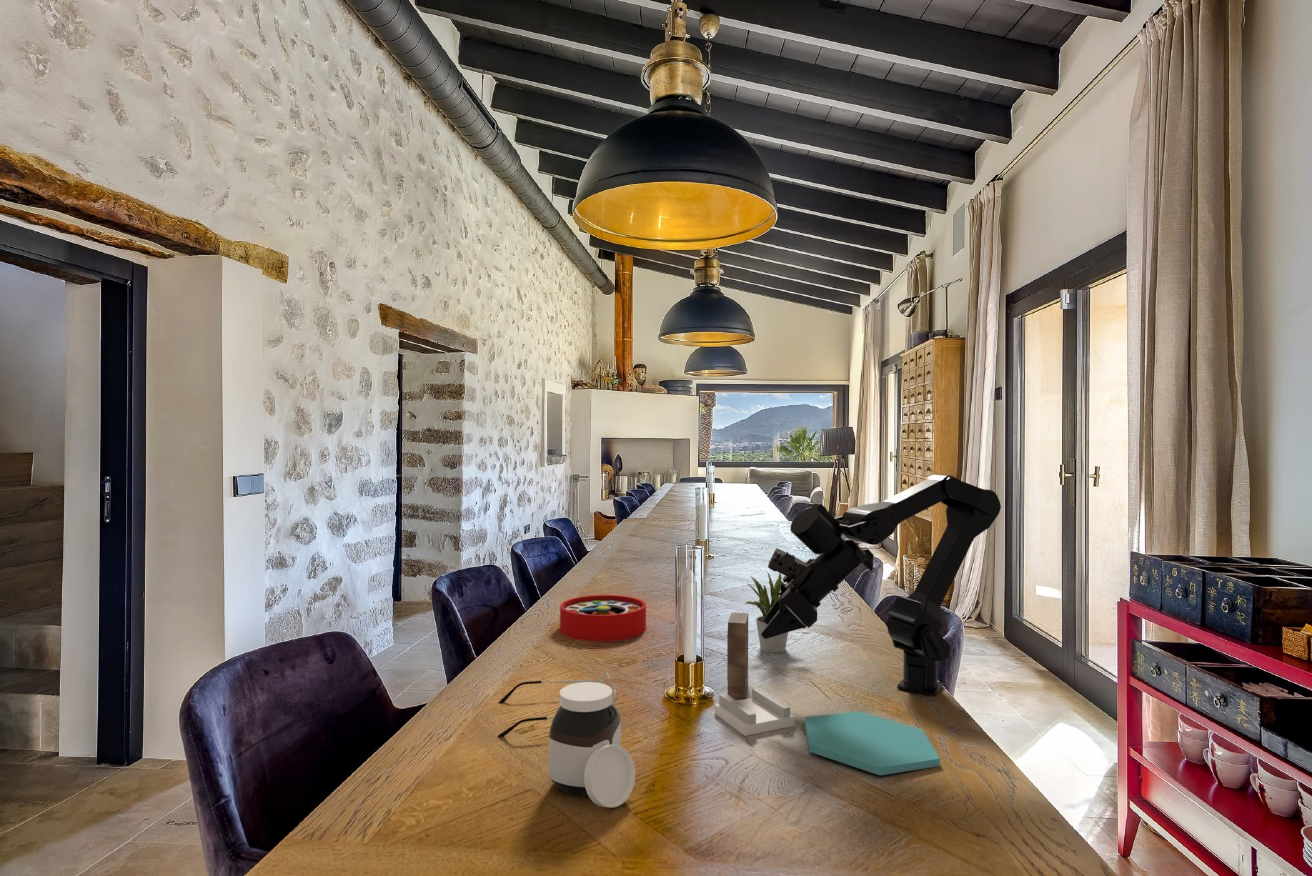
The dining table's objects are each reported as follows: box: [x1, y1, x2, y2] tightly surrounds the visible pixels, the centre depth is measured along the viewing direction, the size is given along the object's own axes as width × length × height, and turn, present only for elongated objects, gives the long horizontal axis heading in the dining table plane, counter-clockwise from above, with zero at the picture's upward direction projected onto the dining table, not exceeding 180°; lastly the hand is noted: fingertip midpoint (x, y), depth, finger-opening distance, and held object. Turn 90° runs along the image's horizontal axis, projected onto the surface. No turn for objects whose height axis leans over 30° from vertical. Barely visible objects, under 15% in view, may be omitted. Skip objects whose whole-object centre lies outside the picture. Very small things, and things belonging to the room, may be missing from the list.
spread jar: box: [547, 682, 636, 809], centre depth 86 cm, size 12×11×12 cm
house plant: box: [744, 571, 789, 654], centre depth 142 cm, size 14×14×16 cm
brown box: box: [726, 612, 749, 700], centre depth 119 cm, size 3×7×13 cm, turn 168°
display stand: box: [714, 687, 795, 737], centre depth 107 cm, size 9×9×3 cm
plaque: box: [804, 710, 941, 776], centre depth 99 cm, size 18×2×20 cm
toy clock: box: [559, 594, 647, 642], centre depth 159 cm, size 20×6×20 cm
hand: (764, 629), depth 118 cm, fingers open, 9 cm apart
